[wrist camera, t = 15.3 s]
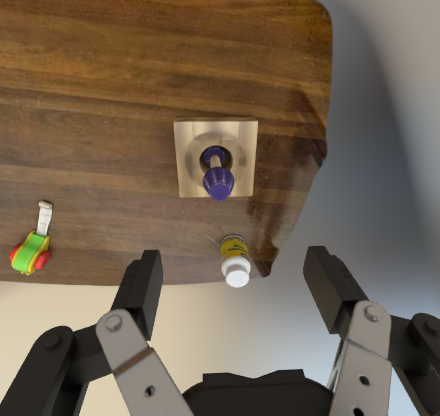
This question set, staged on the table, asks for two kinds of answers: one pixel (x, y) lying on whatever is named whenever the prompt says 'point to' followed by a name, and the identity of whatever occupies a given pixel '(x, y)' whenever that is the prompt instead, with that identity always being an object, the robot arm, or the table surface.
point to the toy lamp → (217, 174)
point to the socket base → (208, 136)
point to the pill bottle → (235, 260)
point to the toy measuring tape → (34, 245)
